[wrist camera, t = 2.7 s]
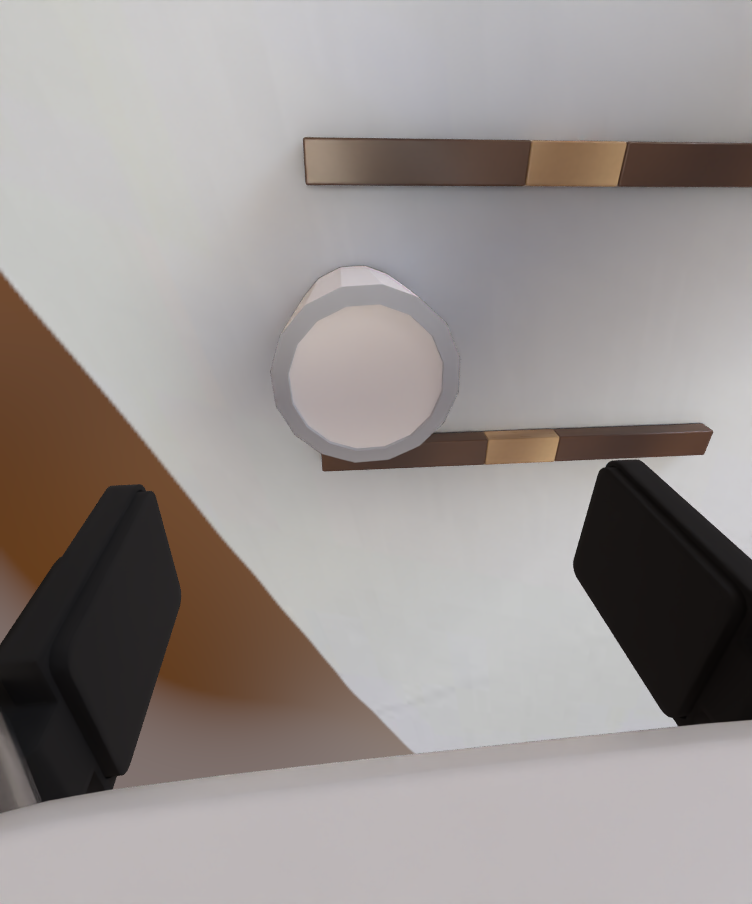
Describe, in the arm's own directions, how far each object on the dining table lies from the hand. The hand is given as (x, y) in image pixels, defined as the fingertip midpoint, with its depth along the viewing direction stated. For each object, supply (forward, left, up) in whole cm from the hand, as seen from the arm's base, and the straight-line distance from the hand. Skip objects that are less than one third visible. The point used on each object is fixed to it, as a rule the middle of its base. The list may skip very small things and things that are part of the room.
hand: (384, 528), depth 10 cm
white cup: (0, 0, -15) cm, 15 cm away
